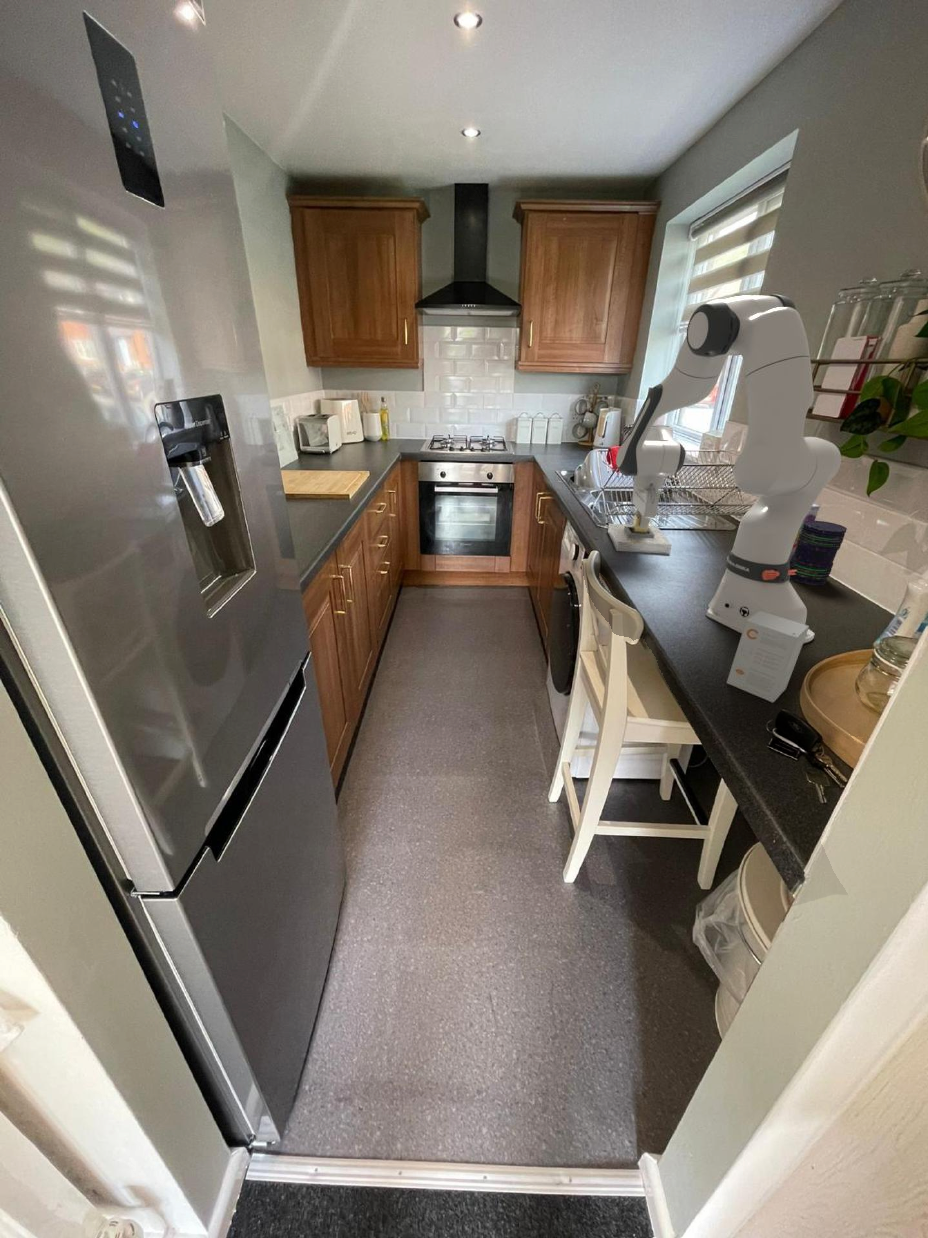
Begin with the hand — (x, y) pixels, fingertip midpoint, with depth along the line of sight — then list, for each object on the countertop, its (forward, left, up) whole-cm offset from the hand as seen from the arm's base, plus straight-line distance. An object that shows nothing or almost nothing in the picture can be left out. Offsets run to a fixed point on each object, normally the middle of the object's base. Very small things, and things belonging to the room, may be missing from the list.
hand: (640, 524), depth 159 cm
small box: (-78, +25, -6) cm, 82 cm away
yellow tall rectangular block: (0, 0, -6) cm, 6 cm away
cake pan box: (-24, -29, -6) cm, 38 cm away
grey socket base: (0, 0, -6) cm, 6 cm away
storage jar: (-37, -30, -6) cm, 48 cm away
